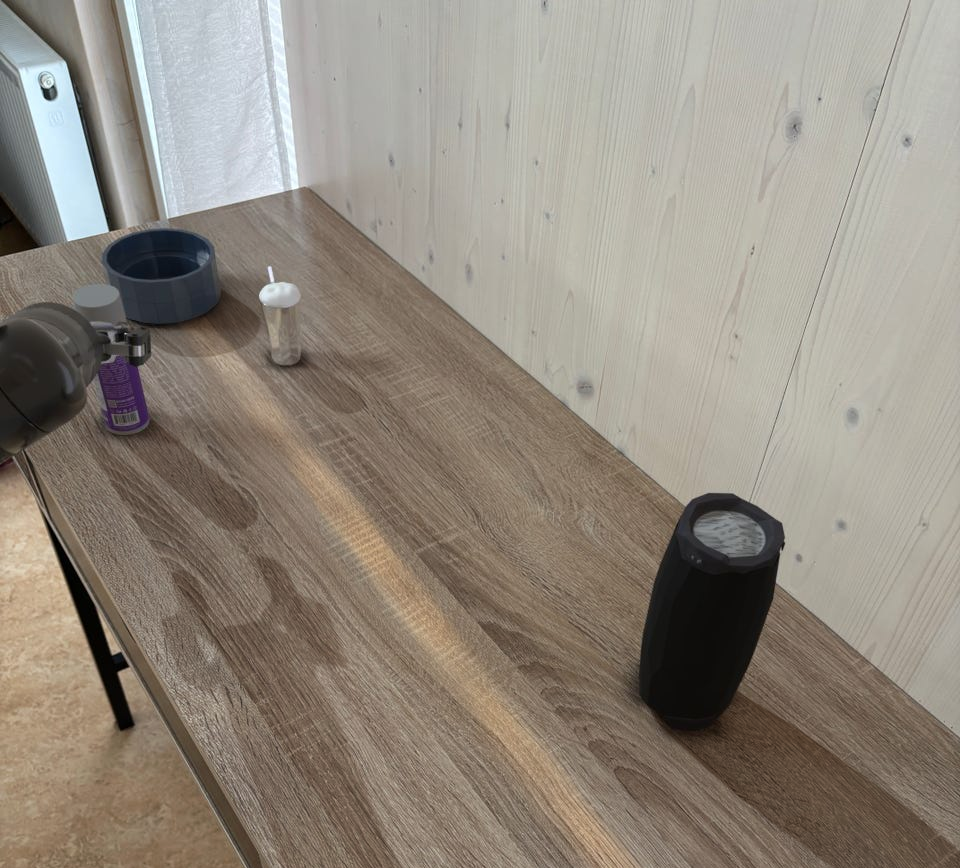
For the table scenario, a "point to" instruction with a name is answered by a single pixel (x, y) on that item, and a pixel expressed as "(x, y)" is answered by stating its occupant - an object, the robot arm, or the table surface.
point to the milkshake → (282, 320)
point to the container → (114, 365)
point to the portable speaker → (708, 608)
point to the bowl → (163, 274)
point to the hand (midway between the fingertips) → (75, 330)
